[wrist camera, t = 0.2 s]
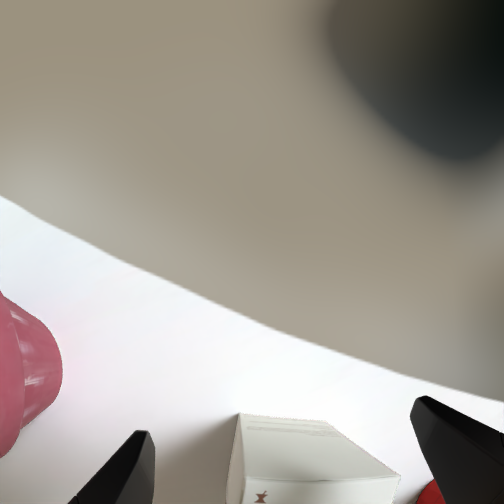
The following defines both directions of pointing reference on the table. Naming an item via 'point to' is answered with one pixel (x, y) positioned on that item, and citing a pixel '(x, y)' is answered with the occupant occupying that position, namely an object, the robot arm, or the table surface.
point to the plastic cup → (431, 495)
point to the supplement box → (303, 465)
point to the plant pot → (24, 370)
